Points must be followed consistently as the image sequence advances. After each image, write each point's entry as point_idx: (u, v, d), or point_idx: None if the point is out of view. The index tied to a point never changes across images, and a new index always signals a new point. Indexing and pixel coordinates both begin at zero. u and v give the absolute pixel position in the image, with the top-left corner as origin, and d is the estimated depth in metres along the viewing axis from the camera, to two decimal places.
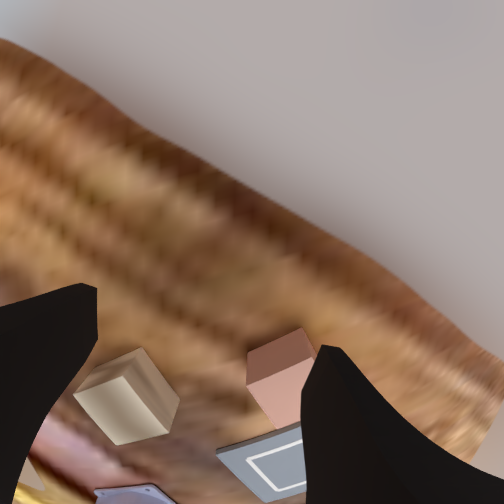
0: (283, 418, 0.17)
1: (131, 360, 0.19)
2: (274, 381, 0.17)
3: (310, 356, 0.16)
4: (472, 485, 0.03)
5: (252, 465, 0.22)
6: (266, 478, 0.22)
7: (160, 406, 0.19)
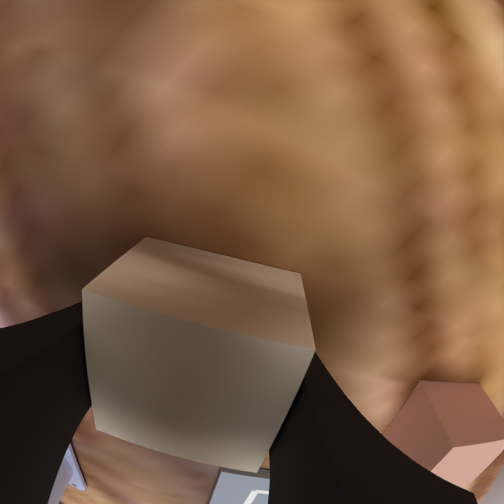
0: None
1: (299, 301, 0.08)
2: (472, 451, 0.08)
3: None
4: (427, 495, 0.03)
5: (250, 497, 0.14)
6: None
7: None
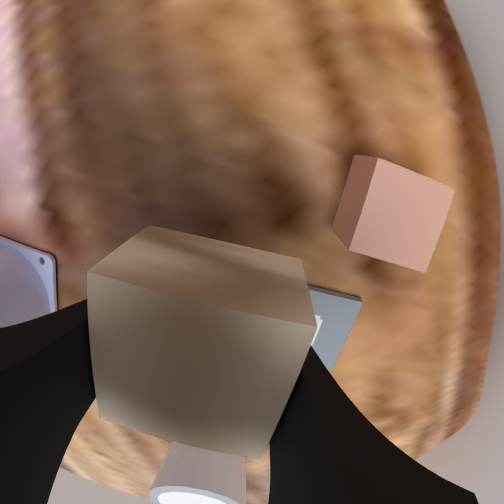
0: (370, 239, 0.13)
1: (300, 283, 0.08)
2: (406, 180, 0.12)
3: (452, 189, 0.12)
4: (428, 495, 0.03)
5: None
6: None
7: None
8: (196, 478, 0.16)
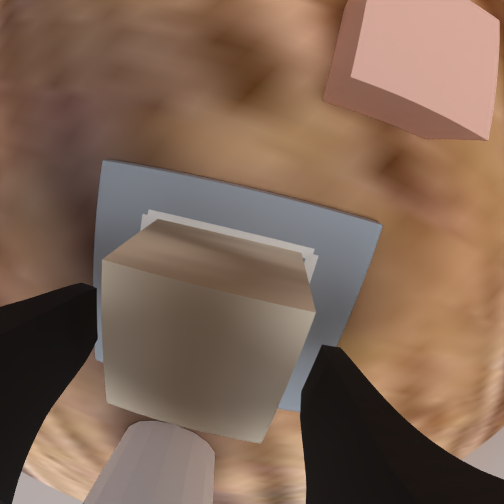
0: (387, 62, 0.06)
1: (300, 274, 0.09)
2: None
3: (495, 20, 0.05)
4: (473, 485, 0.03)
5: None
6: None
7: None
8: None
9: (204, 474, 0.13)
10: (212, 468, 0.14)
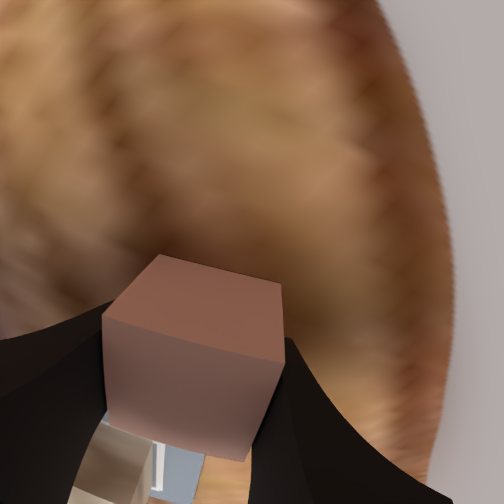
0: (132, 420, 0.07)
1: (137, 470, 0.10)
2: (164, 352, 0.06)
3: (282, 359, 0.06)
4: (399, 499, 0.03)
5: None
6: None
7: None
8: None
9: None
10: None
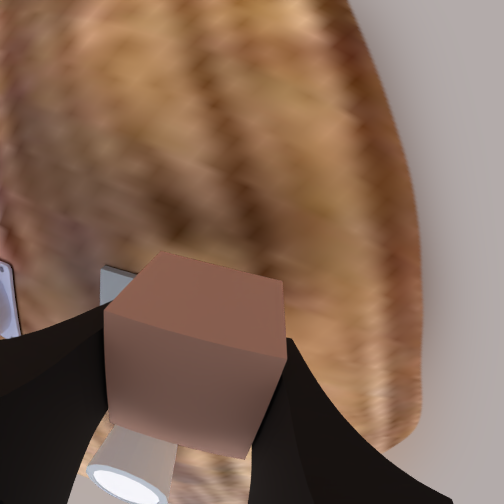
0: (133, 417, 0.07)
1: None
2: (166, 348, 0.06)
3: (284, 355, 0.06)
4: (400, 499, 0.03)
5: None
6: None
7: None
8: (118, 460, 0.17)
9: (167, 444, 0.21)
10: None
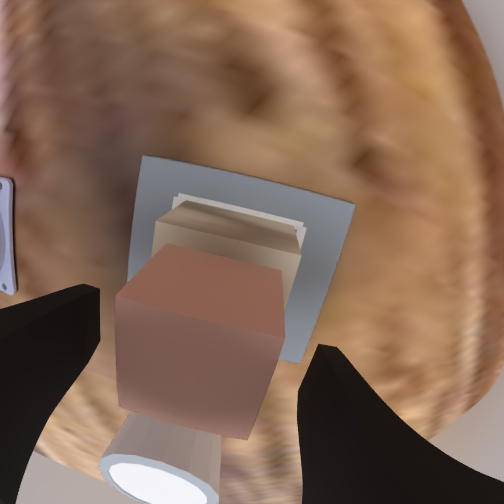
0: (141, 400, 0.08)
1: (292, 236, 0.12)
2: (174, 330, 0.07)
3: (282, 334, 0.07)
4: (468, 487, 0.03)
5: None
6: None
7: None
8: (150, 445, 0.13)
9: None
10: None
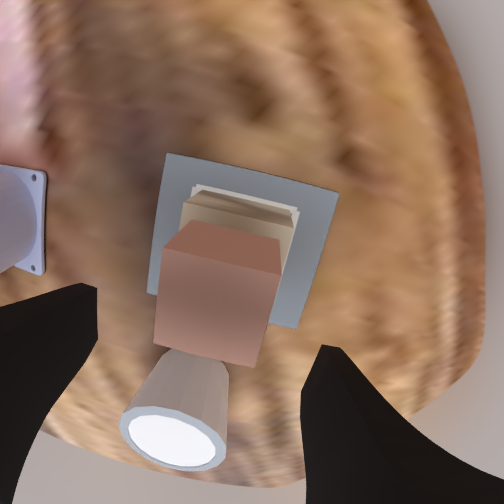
0: (173, 334, 0.11)
1: (287, 216, 0.16)
2: (204, 271, 0.10)
3: (279, 273, 0.10)
4: (473, 485, 0.03)
5: None
6: None
7: None
8: (167, 398, 0.16)
9: (221, 383, 0.20)
10: (227, 384, 0.21)
